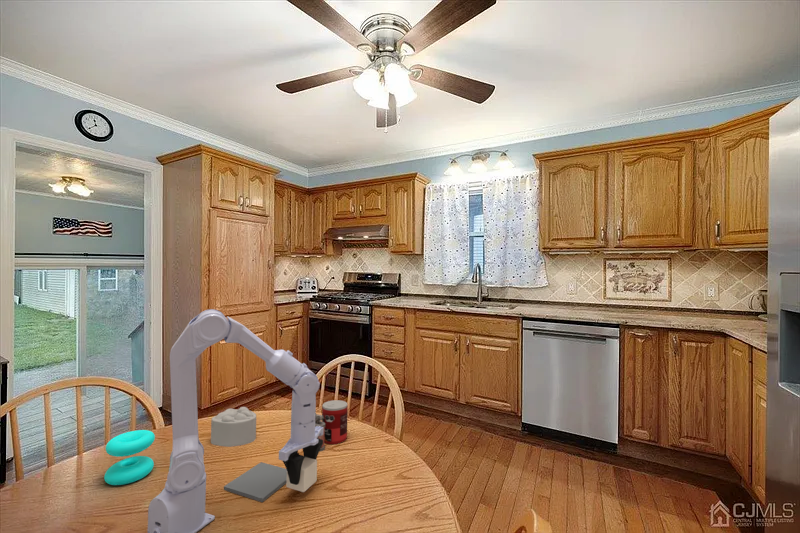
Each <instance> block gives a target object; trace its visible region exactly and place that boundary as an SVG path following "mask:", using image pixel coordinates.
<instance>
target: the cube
mask: <svg viewBox="0 0 800 533" xmlns="http://www.w3.org/2000/svg"><path fill="white" fill-rule="evenodd" d="M317 476H318V459H312V458H308V457H305V458H304V460H303V463H302V466H301V472H300V480H299V484H297V485H295V484H291V483H290V480H289V476H288V472H287V483H286V484H285V485H286V486H285V487H286V488H287V489H292V490H294V491H298V492H301V493H305V492H306V491H307V490H308V489H309V488H310V487H312V486H313V485H314V484H315V483H316V482H318V481H317Z"/></svg>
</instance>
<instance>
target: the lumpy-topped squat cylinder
mask: <svg viewBox="0 0 800 533" xmlns="http://www.w3.org/2000/svg"><path fill="white" fill-rule="evenodd" d="M210 421H211V425H210V444H211V445H213V446H219V447H227V448H228V447H229V448H231V447H233V448H234V447H238V446H239V447H240V446H244V445H248V444H251V443H253V442H255V440H256V439H257V413H255V412H254V411H252V410H249V408H248V407H247V406H240V407H239V408H237V409H235V408H227V409H225V410H224V411H222V412H219V413H218V414H217V415H214V416H212V417H211V420H210Z"/></svg>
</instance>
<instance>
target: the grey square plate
mask: <svg viewBox="0 0 800 533" xmlns="http://www.w3.org/2000/svg"><path fill="white" fill-rule="evenodd" d="M286 483H287V469H286V467H281V466H277V465H274V464H270V463H267V462H262V461H261V462H259V463H258V464H255V465H254V466H253V467H251V468H250V469H249V470H246V471H245V472H244V473H242V474H241V475H239V476H237V477H236V478H234V479H233V480H230V482H228V483H226V484H225V485H224V486H223V490H224V491H227V492H230V493H232V494H235V495H239V496H242V497H245V498H248V499H250V500H254V501H257V502H261V503H264V502H265V501H267V499H269V498H270V497H271V496H272V495H274V494H275V493H276V492H277V491H279V490H280V489H281V488H282V487H283V486H285V485H286Z"/></svg>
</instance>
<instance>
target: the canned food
mask: <svg viewBox="0 0 800 533" xmlns="http://www.w3.org/2000/svg"><path fill="white" fill-rule="evenodd" d="M348 411H349V410H348V402H346V401H345V400H338V399H334V400H333V399H332V400H329V401H325V402H323V403H322V406H321V415H322V416H323V420H322V422H324V423H325V434H324V444H327V445H337V444H338V443H339V444H341V442H342V443H343V442H345V441H346V440H347V436H348Z"/></svg>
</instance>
